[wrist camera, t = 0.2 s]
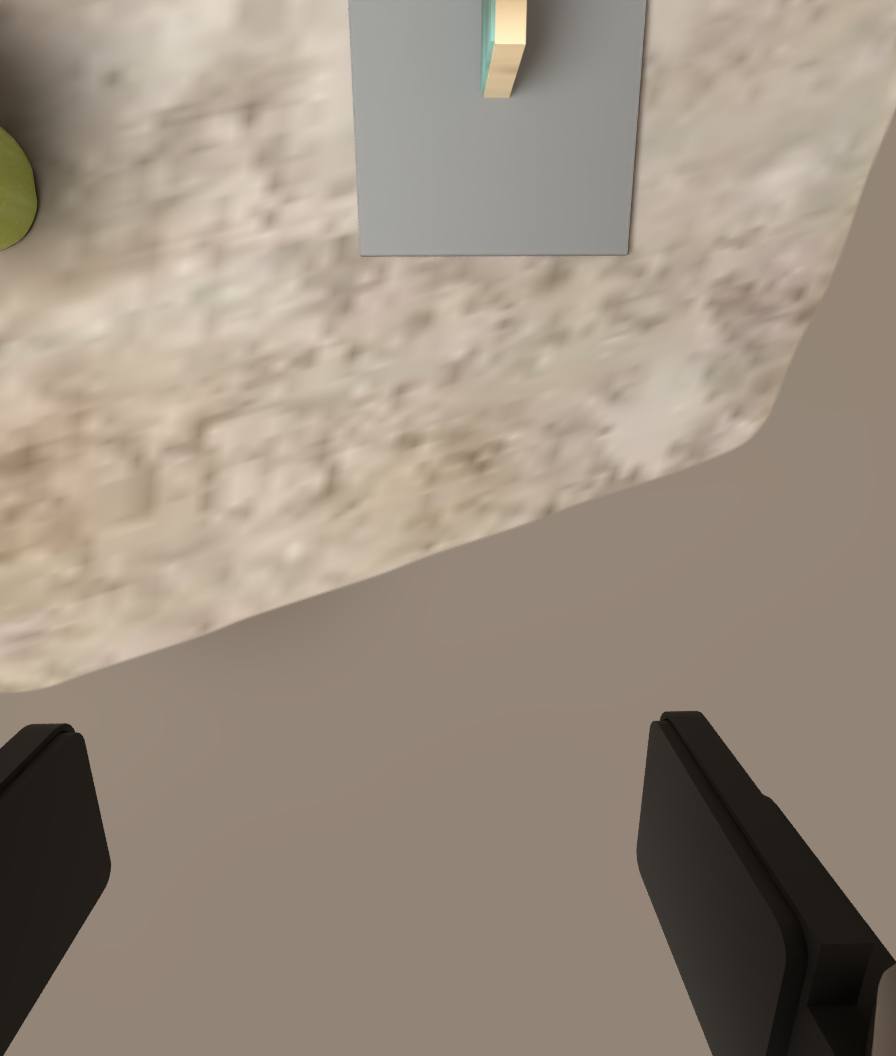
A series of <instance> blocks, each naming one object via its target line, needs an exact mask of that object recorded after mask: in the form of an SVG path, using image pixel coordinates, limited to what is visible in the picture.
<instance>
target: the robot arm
mask: <svg viewBox="0 0 896 1056" xmlns="http://www.w3.org/2000/svg"><path fill="white" fill-rule="evenodd" d="M637 861H638V866H639V871H640V874H641V877H642V879H643V881H644V884H645V887H646V889H647V892H648V894H649V897H650V899H651V902H652V904H653V907H654V909H655V912H656V914H657V917H658V919H659V922H660V924H661V927H662V929H663V932H664V934H665V937H666V939H667V942H668V945H669V947H670V950H671V952H672V955H673V957H674V960H675V962H676V965H677V967H678V969H679V972H680V975H681V977H682V980H683V982H684V985H685V987H686V989H687V992H688V995H689V997H690V1000H691V1002H692V1005H693V1007H694V1009H695V1012H696V1015H697V1017H698V1020H699V1022H700V1025H701V1027H702V1030H703V1032H704V1035H705V1037H706V1040H707V1043H708V1045H709V1047H710V1050H711V1052H712V1055H713V1056H896V961H895V960H894V958H893V957H892V956H891V954H890V953H889V952H888V951H887V949H886V948H885V947H884V945H883V944H882V943H881V942H880V940H879V939H878V937H877V936H876V935H875V934H874V932H873V931H872V930H871V928H870V927H869V925H868V924H867V923H866V922H865V920H864V919H863V918H862V916H861V915H860V914H859V913H858V911H857V910H856V908H855V907H854V906H853V904H852V903H851V902H850V900H849V899H848V898H847V897H846V895H845V894H844V893H843V891H842V890H841V889H840V887H839V886H838V885H837V883H836V882H835V881H834V879H833V878H832V877H831V876H830V874H829V873H828V871H826V869H825V868H824V866H823V865H822V864H821V862H820V861H819V860H818V858H817V857H816V856H815V854H814V853H813V852H812V851H811V849H810V848H809V847H808V845H807V844H806V843H805V841H804V840H803V839H802V837H801V836H800V835H799V833H798V832H797V831H796V829H795V828H794V827H793V825H792V824H791V823H790V821H789V820H788V819H787V818H786V816H785V815H784V814H783V812H782V811H781V810H780V808H779V807H778V806H777V805H776V804H775V803H774V802H773V801H772V799H771V798H769V797H767V796H765V795H763V794H762V793H761V791H760V790H759V789H758V788H757V786H756V785H755V783H754V782H753V781H752V779H751V778H750V777H749V775H748V774H747V773H746V771H745V770H744V769H743V767H742V766H741V765H740V763H739V762H738V761H737V760H736V758H735V757H734V755H733V754H732V753H731V751H730V750H729V749H728V747H727V746H726V744H725V743H724V742H723V741H722V739H721V738H720V736H719V735H718V734H717V732H716V731H715V730H714V728H713V727H712V726H711V725H710V723H709V722H708V720H707V719H706V718H705V717H704V715H703V714H702V713H701V712H698V711H675V712H674V711H673V712H664V713H663V714H662V716H661V718H660V721H653V722H652V723H651V726H650V733H649V741H648V750H647V759H646V768H645V777H644V787H643V796H642V804H641V813H640V823H639V831H638V840H637ZM110 871H111V861H110V856H109V851H108V847H107V842H106V837H105V833H104V829H103V823H102V819H101V815H100V810H99V805H98V800H97V796H96V791H95V787H94V782H93V777H92V773H91V769H90V763H89V759H88V754H87V749H86V745H85V740H84V738H83V736H82V735H81V734H80V733H75V731H74V728H72V726H71V725H69V724H66V723H65V724H31V725H27V726H26V727H24V728H23V729H21V730H20V731H19V732H18V733H17V734H16V735H15V736H14V737H13V738H11V739H10V740H9V741H8V742H7V743H6V744H5V745H4V746H3V747H2V748H1V749H0V1056H3V1055H4V1053H5V1052H6V1050H7V1048H8V1047H9V1045H10V1043H11V1042H12V1040H13V1039H14V1037H15V1035H16V1034H17V1032H18V1030H19V1029H20V1027H21V1026H22V1024H23V1022H24V1020H25V1019H26V1017H27V1016H28V1014H29V1012H30V1011H31V1009H32V1007H33V1006H34V1004H35V1003H36V1001H37V999H38V998H39V996H40V994H41V993H42V991H43V989H44V988H45V986H46V984H47V983H48V981H49V980H50V978H51V976H52V974H53V973H54V971H55V970H56V968H57V966H58V965H59V963H60V961H61V960H62V958H63V957H64V955H65V953H66V952H67V950H68V948H69V947H70V945H71V943H72V942H73V940H74V939H75V937H76V935H77V934H78V932H79V930H80V929H81V927H82V925H83V924H84V922H85V920H86V919H87V917H88V916H89V914H90V912H91V910H92V909H93V907H94V906H95V904H96V902H97V901H98V899H99V897H100V896H101V894H102V893H103V891H104V889H105V887H106V885H107V883H108V880H109V876H110Z"/></svg>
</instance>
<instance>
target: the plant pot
mask: <svg viewBox="0 0 896 1056" xmlns="http://www.w3.org/2000/svg"><path fill="white" fill-rule="evenodd" d="M36 210H37V198H36V192H35V185H34V178H33V170H32V167H31V165H30V163H29V161H28V158H27V157H26V155H25V153H24V152H23V150H22V149H21V147H20V146H19V144H18V143H17V142H16V141H15V140H14V138H13V137H12V136H11V135H10V134H9V133H8V132H6V131H5V130H4V129H3V128H2V127H1V126H0V250H3V249H6V248H8V247H10V246H11V245H13V244H15V243H17V242H18V241H19V240H21V239H22V238H23V237H24V235H25V234H26V233H27V231H28V230H29V228H30V226H31V224H32V222H33V220H34V217H35V214H36Z"/></svg>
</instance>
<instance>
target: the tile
mask: <svg viewBox="0 0 896 1056" xmlns="http://www.w3.org/2000/svg"><path fill="white" fill-rule="evenodd" d="M526 14H527V0H482V27H481V92H484V98H509V97H510V94H511V91H512V87H513V84H514V81H515V78H516V74H517V71H518V68H519V64H520V61H521V58H522V55H523V51H524V48H525V45H526Z"/></svg>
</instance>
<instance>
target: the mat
mask: <svg viewBox="0 0 896 1056" xmlns="http://www.w3.org/2000/svg"><path fill="white" fill-rule="evenodd" d="M348 3H349V25H350V46H351V68H352V89H353V111H354V133H355V154H356V176H357V198H358V219H359V241H360V255H361V257H384V256H624V255H627V252H628V238H629V225H630V212H631V199H632V185H633V172H634V159H635V145H636V132H637V119H638V106H639V92H640V79H641V66H642V53H643V39H644V26H645V13H646V0H527V14H526V45H525V48H524V51H523V55H522V58H521V61H520V64H519V68H518V71H517V74H516V78H515V81H514V84H513V87H512V91H511V94H510V97H509V98H484V92H481V27H482V0H348Z"/></svg>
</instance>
